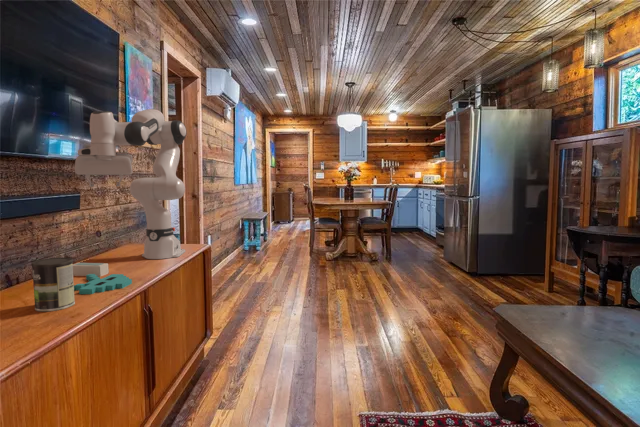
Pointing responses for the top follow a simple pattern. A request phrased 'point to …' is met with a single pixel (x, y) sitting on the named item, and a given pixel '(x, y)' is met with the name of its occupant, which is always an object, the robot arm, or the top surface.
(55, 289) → the coffee can
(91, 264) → the beige rectangular block
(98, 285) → the alien figure
